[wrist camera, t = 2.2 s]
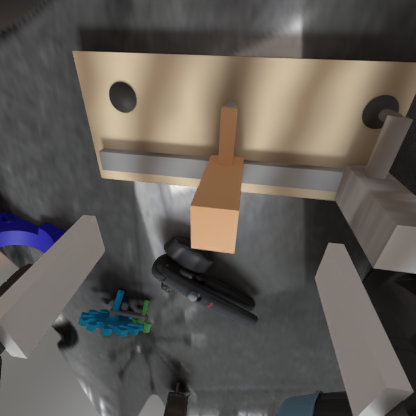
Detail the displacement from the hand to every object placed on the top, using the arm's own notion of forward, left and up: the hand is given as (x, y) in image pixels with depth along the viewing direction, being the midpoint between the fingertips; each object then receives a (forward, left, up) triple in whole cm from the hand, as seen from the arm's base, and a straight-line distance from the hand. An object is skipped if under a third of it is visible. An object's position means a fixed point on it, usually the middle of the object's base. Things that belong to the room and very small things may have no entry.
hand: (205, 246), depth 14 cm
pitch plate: (0, -3, -14) cm, 14 cm away
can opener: (+1, +18, -14) cm, 23 cm away
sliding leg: (0, -2, -12) cm, 12 cm away
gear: (+16, +28, -14) cm, 35 cm away
